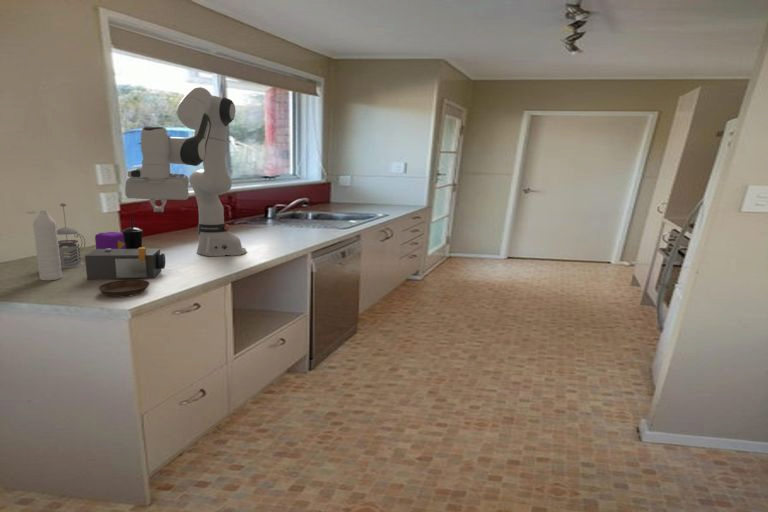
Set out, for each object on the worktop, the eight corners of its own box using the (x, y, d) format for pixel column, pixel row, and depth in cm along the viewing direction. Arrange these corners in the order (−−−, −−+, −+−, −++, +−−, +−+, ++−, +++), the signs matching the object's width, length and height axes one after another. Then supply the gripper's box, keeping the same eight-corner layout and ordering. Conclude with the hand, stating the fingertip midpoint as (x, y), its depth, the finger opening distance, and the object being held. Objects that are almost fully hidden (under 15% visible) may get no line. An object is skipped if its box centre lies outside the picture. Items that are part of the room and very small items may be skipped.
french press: (48, 266, 175) (41, 203, 169) (77, 260, 186) (71, 201, 180) (66, 269, 172) (58, 205, 166) (94, 263, 182) (88, 202, 177)
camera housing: (166, 270, 176) (165, 246, 174) (159, 278, 165) (157, 253, 163) (99, 271, 170) (97, 246, 168) (87, 280, 159) (84, 253, 157)
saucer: (90, 293, 146) (89, 285, 146) (135, 284, 158) (135, 276, 158) (112, 302, 138) (112, 294, 138) (158, 292, 150) (158, 284, 150)
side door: (147, 276, 164) (145, 247, 161) (146, 277, 162) (144, 248, 160) (117, 276, 161) (114, 247, 159) (116, 278, 160) (113, 248, 157)
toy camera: (136, 250, 208) (134, 229, 206) (116, 257, 194) (114, 234, 192) (114, 249, 209) (112, 228, 207) (93, 255, 195) (91, 233, 193)
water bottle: (52, 275, 163) (43, 207, 157) (66, 277, 162) (59, 209, 156) (29, 281, 154) (19, 210, 149) (44, 283, 153) (35, 211, 148)
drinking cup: (149, 261, 190) (145, 215, 185) (132, 264, 183) (128, 216, 178) (137, 258, 193) (133, 213, 188) (120, 262, 186) (116, 215, 181)
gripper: (189, 173, 161) (191, 211, 164) (128, 171, 157) (130, 210, 159) (186, 174, 155) (188, 213, 158) (122, 171, 151) (125, 212, 153)
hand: (158, 211), depth 159 cm, fingers closed
